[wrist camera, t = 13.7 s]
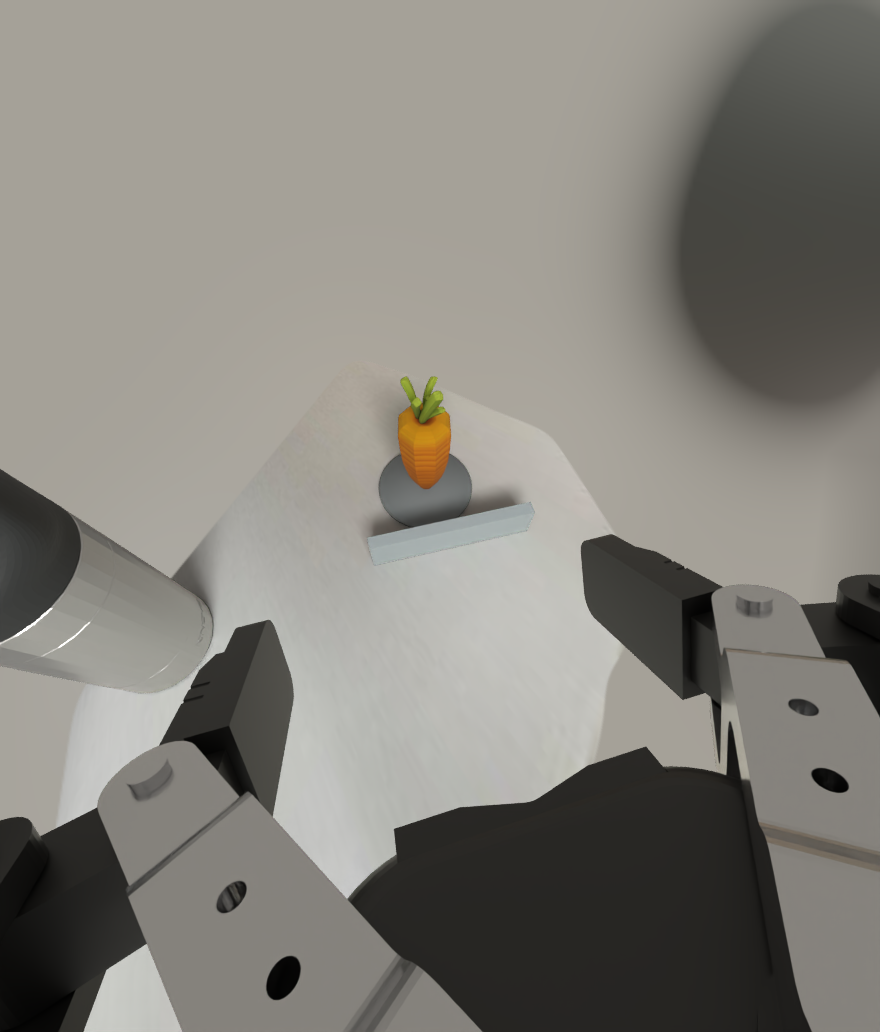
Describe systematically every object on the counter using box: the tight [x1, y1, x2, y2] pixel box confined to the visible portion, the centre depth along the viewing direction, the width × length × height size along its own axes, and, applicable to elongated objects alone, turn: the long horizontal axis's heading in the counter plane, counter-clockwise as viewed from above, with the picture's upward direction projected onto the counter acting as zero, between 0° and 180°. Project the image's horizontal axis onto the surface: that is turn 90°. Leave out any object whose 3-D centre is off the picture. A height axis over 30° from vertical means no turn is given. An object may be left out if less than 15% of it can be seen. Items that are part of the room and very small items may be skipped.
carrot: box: [398, 376, 451, 489], centre depth 41 cm, size 5×5×15 cm
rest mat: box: [379, 454, 472, 527], centre depth 48 cm, size 10×10×1 cm
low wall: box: [367, 502, 535, 566], centre depth 43 cm, size 16×1×4 cm, turn 104°
